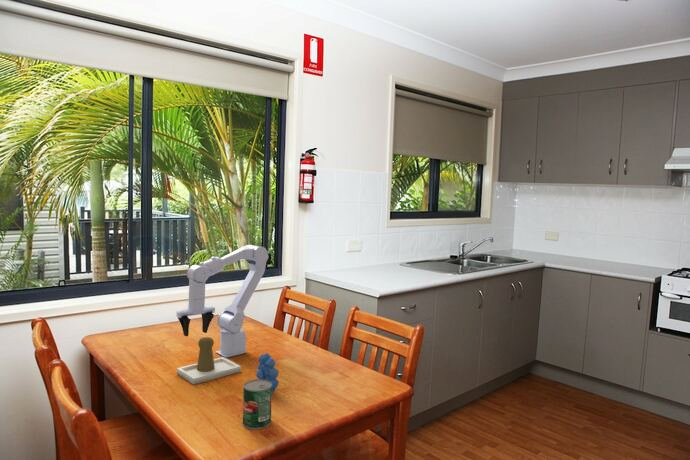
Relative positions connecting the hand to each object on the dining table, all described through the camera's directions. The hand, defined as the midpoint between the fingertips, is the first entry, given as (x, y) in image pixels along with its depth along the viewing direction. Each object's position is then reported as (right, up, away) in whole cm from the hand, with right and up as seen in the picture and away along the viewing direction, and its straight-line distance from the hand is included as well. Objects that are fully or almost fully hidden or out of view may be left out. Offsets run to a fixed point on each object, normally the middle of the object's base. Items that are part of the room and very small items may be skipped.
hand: (195, 334), depth 182 cm
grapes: (+30, -14, -23) cm, 40 cm away
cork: (+6, -11, -9) cm, 15 cm away
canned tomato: (+31, -16, -44) cm, 56 cm away
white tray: (+8, -12, -10) cm, 17 cm away
